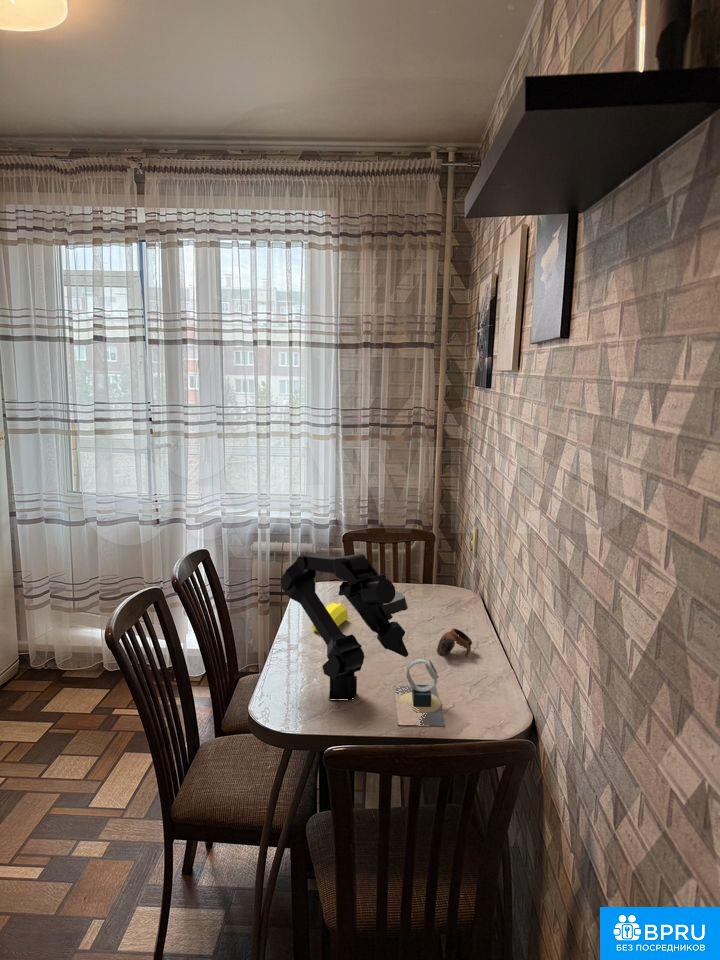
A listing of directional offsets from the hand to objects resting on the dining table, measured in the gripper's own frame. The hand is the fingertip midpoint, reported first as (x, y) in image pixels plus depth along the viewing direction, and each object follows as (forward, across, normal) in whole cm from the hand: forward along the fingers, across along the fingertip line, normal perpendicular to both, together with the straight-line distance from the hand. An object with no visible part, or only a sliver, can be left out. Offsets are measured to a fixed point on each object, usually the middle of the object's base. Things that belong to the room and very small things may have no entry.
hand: (401, 648), depth 164 cm
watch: (+14, -3, +4) cm, 14 cm away
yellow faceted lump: (+7, +54, +13) cm, 56 cm away
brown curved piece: (+25, +24, -11) cm, 36 cm away
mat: (+13, -4, +6) cm, 15 cm away
